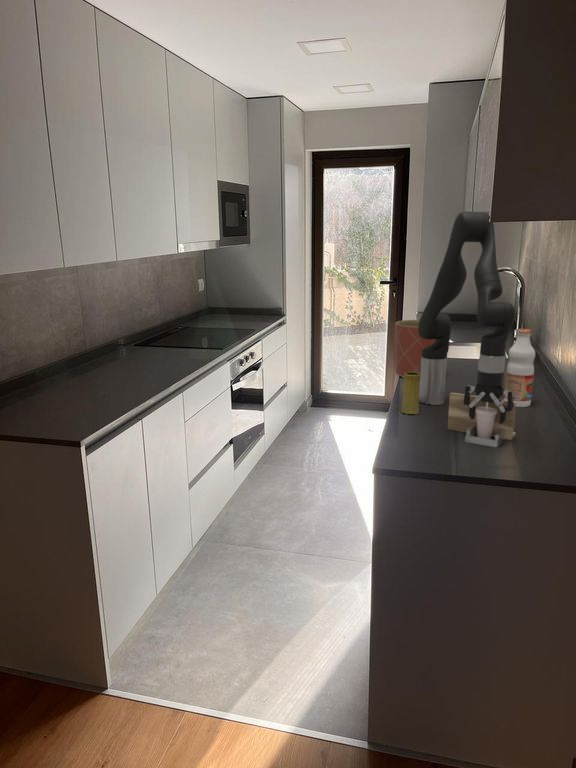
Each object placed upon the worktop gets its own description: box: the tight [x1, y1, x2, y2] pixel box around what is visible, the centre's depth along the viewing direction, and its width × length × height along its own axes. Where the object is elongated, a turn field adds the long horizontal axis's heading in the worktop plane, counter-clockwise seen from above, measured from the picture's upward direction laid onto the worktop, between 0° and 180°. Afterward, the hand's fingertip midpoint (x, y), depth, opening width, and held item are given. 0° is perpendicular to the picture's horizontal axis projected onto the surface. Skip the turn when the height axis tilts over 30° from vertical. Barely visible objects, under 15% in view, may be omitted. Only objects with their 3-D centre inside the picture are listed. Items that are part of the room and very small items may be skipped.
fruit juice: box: [503, 328, 536, 408], centre depth 217 cm, size 9×9×28 cm
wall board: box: [446, 392, 517, 441], centre depth 187 cm, size 5×20×12 cm, turn 58°
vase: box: [400, 372, 420, 415], centre depth 208 cm, size 6×6×14 cm
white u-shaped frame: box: [464, 423, 505, 448], centre depth 181 cm, size 9×10×4 cm
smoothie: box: [475, 402, 497, 439], centre depth 180 cm, size 6×6×14 cm
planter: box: [394, 319, 436, 377], centre depth 262 cm, size 23×23×24 cm
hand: (486, 421), depth 180 cm, fingers open, 8 cm apart
